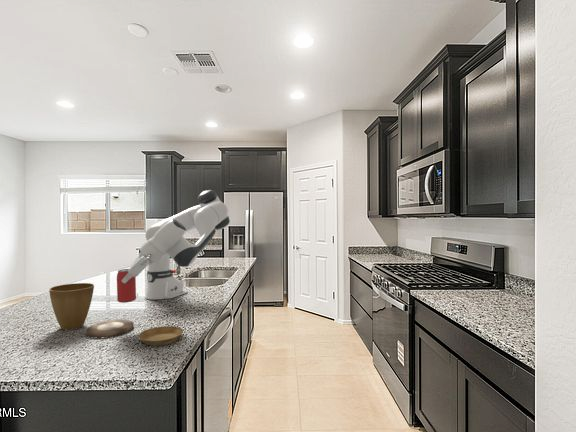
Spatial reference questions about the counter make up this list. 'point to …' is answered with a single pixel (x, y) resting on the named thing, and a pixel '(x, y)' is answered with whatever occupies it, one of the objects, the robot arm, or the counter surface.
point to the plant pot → (71, 304)
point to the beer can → (125, 287)
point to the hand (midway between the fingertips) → (124, 280)
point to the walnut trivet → (109, 328)
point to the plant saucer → (160, 335)
